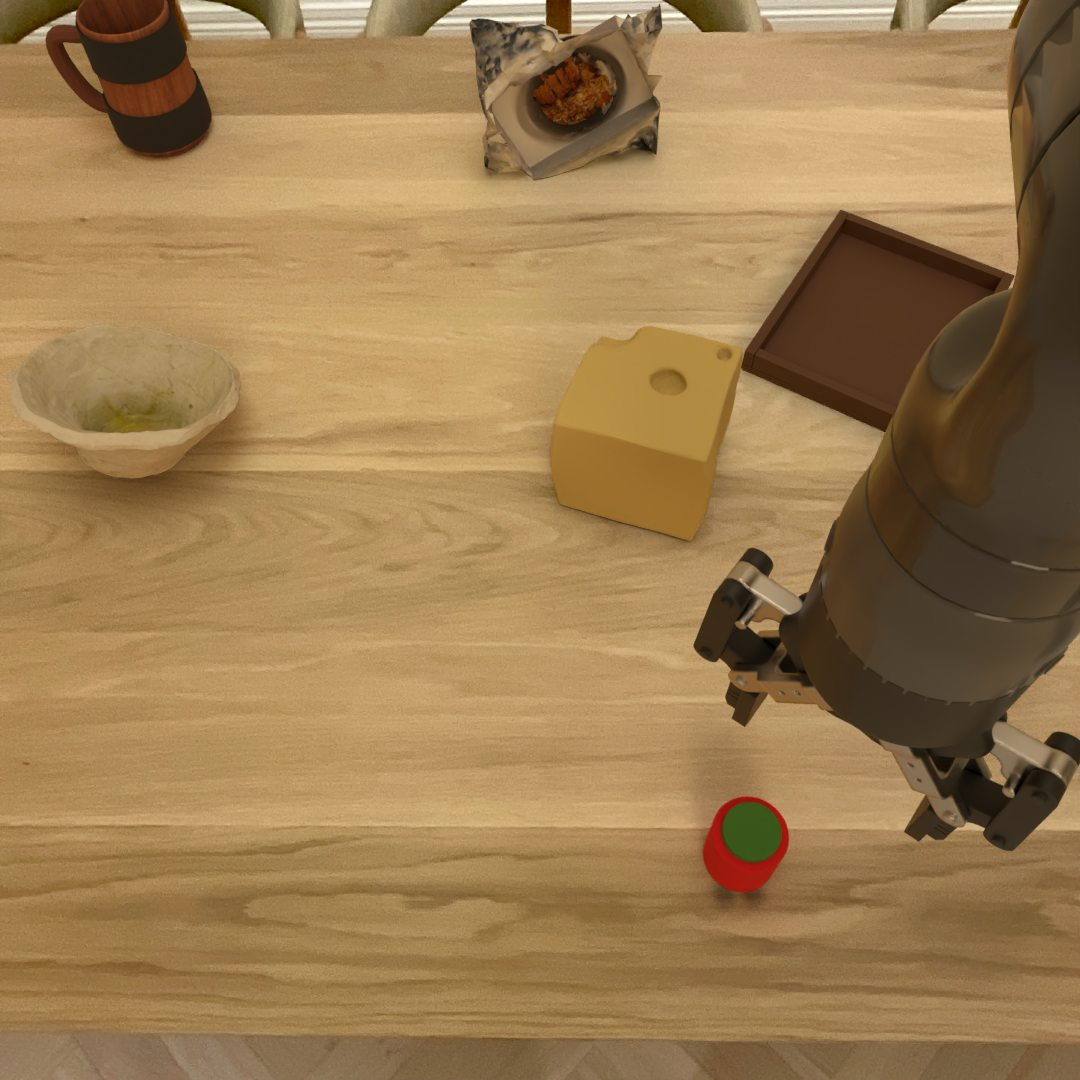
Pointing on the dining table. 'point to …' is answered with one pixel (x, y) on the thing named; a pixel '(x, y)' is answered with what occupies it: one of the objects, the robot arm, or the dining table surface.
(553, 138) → the meal
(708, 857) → the green-capped red cylinder
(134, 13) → the mug
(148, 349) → the bowl
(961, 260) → the tray
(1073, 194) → the robot arm
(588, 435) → the cheese
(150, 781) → the dining table surface
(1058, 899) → the dining table surface
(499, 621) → the dining table surface
